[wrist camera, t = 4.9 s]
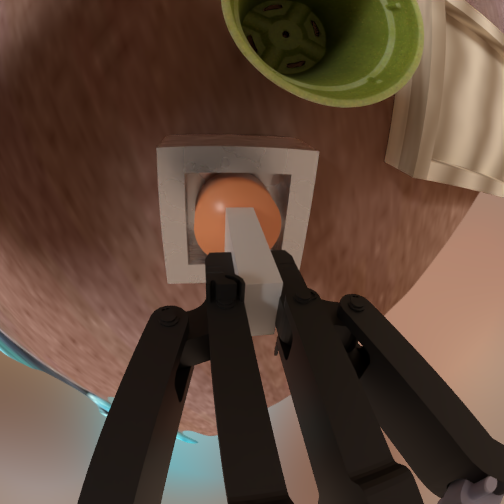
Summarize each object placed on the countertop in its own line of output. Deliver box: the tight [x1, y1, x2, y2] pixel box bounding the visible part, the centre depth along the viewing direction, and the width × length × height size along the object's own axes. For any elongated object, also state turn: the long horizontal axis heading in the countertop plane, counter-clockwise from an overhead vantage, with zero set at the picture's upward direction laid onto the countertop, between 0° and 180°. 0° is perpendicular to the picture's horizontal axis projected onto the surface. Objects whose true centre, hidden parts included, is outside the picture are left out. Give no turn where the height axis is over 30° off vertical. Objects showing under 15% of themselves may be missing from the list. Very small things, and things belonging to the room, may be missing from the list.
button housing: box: [157, 134, 319, 284], centre depth 19 cm, size 9×9×4 cm
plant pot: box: [221, 0, 424, 108], centre depth 11 cm, size 9×9×9 cm
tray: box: [384, 0, 504, 198], centre depth 16 cm, size 21×17×4 cm
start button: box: [194, 173, 281, 255], centre depth 17 cm, size 5×5×3 cm
